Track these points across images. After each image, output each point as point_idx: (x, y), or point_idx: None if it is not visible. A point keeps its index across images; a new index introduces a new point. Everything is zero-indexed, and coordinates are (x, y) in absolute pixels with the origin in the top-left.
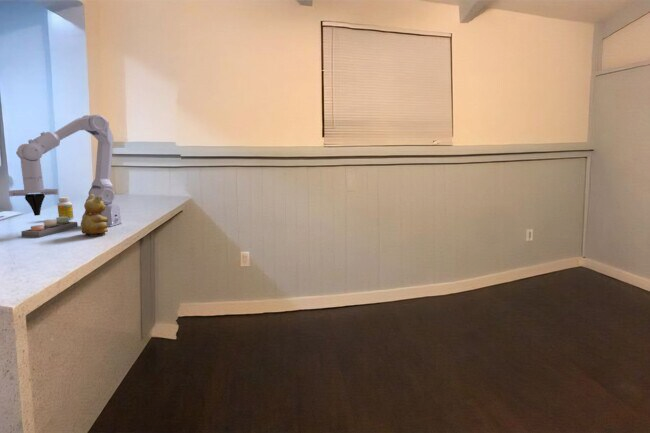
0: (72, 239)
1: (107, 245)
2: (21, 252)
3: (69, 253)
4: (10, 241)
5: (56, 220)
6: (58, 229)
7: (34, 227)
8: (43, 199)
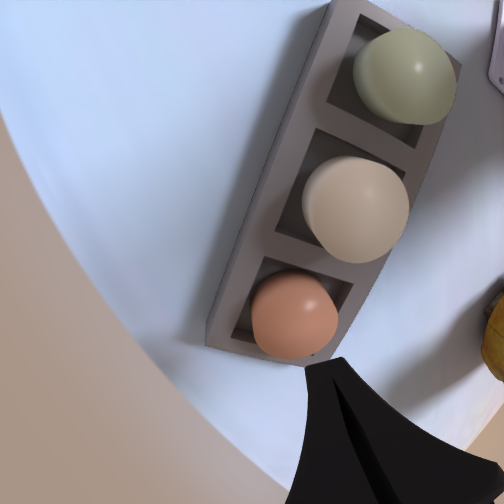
0: (441, 375)
1: (490, 413)
2: None
3: None
4: (209, 400)
5: (406, 204)
6: None
7: (291, 358)
8: (461, 454)
